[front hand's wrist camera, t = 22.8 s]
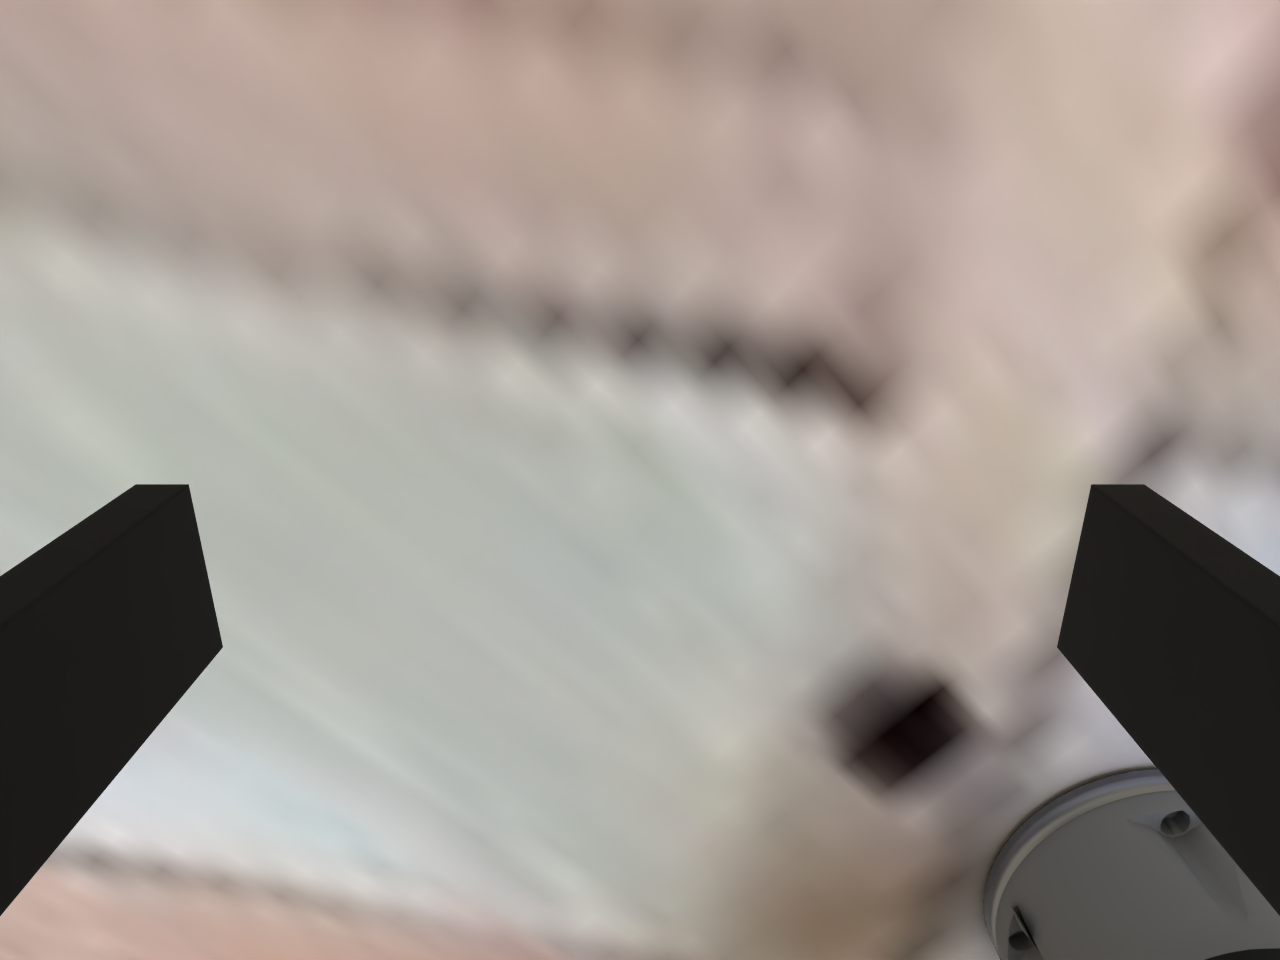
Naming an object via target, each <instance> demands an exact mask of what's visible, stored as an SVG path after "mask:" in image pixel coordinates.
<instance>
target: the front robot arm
mask: <svg viewBox="0 0 1280 960" xmlns="http://www.w3.org/2000/svg"><path fill="white" fill-rule="evenodd" d="M222 648H223V646H222V641H221V636H220V631H219V627H218V622H217V617H216V612H215V608H214V603H213V598H212V593H211V589H210V584H209V579H208V574H207V570H206V565H205V560H204V555H203V551H202V546H201V541H200V536H199V532H198V527H197V522H196V517H195V513H194V508H193V503H192V498H191V494H190V489H189V485H134V486H133V487H132V488H130V489H129V490H127V491H126V492H124V493H123V494H121V495H120V496H118V497H117V498H115V499H114V500H112V501H111V502H109V503H108V504H106V505H105V506H103V507H102V508H101V509H99V510H98V511H96V512H95V513H93V514H92V515H90V516H89V517H87V518H86V519H84V520H83V521H81V522H80V523H78V524H77V525H75V526H74V527H72V528H71V529H70V530H68V531H67V532H65V533H64V534H62V535H61V536H59V537H58V538H56V539H55V540H53V541H52V542H50V543H49V544H47V545H46V546H44V547H43V548H41V549H40V550H39V551H37V552H36V553H34V554H33V555H31V556H30V557H28V558H27V559H25V560H24V561H22V562H21V563H19V564H18V565H16V566H15V567H13V568H12V569H10V570H9V571H8V572H6V573H5V574H3V575H2V576H0V916H1V915H2V913H3V912H4V911H5V910H6V909H7V907H8V906H9V905H10V904H11V902H12V901H13V900H14V899H15V898H16V896H17V895H18V894H19V893H20V892H21V890H22V889H23V888H24V887H25V886H26V884H27V883H28V882H29V881H30V880H31V878H32V877H33V876H34V875H35V873H36V872H37V871H38V870H39V869H40V867H41V866H42V865H43V864H44V863H45V861H46V860H47V859H48V858H49V857H50V855H51V854H52V853H53V852H54V851H55V849H56V848H57V847H58V846H59V844H60V843H61V842H62V841H63V840H64V838H65V837H66V836H67V835H68V834H69V832H70V831H71V830H72V829H73V828H74V826H75V825H76V824H77V823H78V822H79V820H80V819H81V818H82V817H83V815H84V814H85V813H86V812H87V811H88V809H89V808H90V807H91V806H92V805H93V803H94V802H95V801H96V800H97V799H98V797H99V796H100V795H101V794H102V793H103V791H104V790H105V789H106V788H107V786H108V785H109V784H110V783H111V782H112V780H113V779H114V778H115V777H116V776H117V774H118V773H119V772H120V771H121V770H122V768H123V767H124V766H125V765H126V764H127V762H128V761H129V760H130V759H131V757H132V756H133V755H134V754H135V753H136V751H137V750H138V749H139V748H140V747H141V745H142V744H143V743H144V742H145V741H146V739H147V738H148V737H149V736H150V735H151V733H152V732H153V731H154V730H155V728H156V727H157V726H158V725H159V724H160V722H161V721H162V720H163V719H164V718H165V716H166V715H167V714H168V713H169V712H170V710H171V709H172V708H173V707H174V706H175V704H176V703H177V702H178V701H179V699H180V698H181V697H182V696H183V695H184V693H185V692H186V691H187V690H188V689H189V687H190V686H191V685H192V684H193V683H194V681H195V680H196V679H197V678H198V677H199V675H200V674H201V673H202V672H203V670H204V669H205V668H206V667H207V666H208V664H209V663H210V662H211V661H212V660H213V658H214V657H215V656H216V655H217V654H218V652H219V651H220V650H221V649H222ZM1057 648H1058V649H1059V650H1060V651H1061V652H1062V654H1063V655H1064V656H1065V657H1066V658H1067V660H1068V661H1069V662H1070V663H1071V664H1072V666H1073V667H1074V668H1075V669H1076V670H1077V672H1078V673H1079V674H1080V675H1081V677H1082V678H1083V679H1084V680H1085V681H1086V683H1087V684H1088V685H1089V686H1090V687H1091V689H1092V690H1093V691H1094V692H1095V693H1096V695H1097V696H1098V697H1099V698H1100V699H1101V701H1102V702H1103V703H1104V704H1105V706H1106V707H1107V708H1108V709H1109V710H1110V712H1111V713H1112V714H1113V715H1114V716H1115V718H1116V719H1117V720H1118V721H1119V722H1120V724H1121V725H1122V726H1123V727H1124V728H1125V730H1126V731H1127V732H1128V733H1129V735H1130V736H1131V737H1132V738H1133V739H1134V741H1135V742H1136V743H1137V744H1138V745H1139V747H1140V748H1141V749H1142V750H1143V751H1144V753H1145V754H1146V755H1147V756H1148V757H1149V759H1150V760H1151V761H1152V762H1153V764H1154V765H1155V766H1156V767H1157V768H1158V769H1148V770H1140V771H1132V772H1127V773H1121V774H1116V775H1113V776H1109V777H1105V778H1102V779H1099V780H1096V781H1093V782H1090V783H1088V784H1085V785H1083V786H1080V787H1078V788H1076V789H1074V790H1071V791H1070V792H1068V793H1066V794H1064V795H1062V796H1060V797H1058V798H1057V799H1055V800H1053V801H1052V802H1050V803H1049V804H1047V805H1046V806H1044V807H1043V808H1041V809H1040V810H1039V811H1037V812H1036V813H1035V814H1034V815H1032V816H1031V817H1030V818H1029V819H1028V820H1027V821H1026V822H1024V823H1023V824H1022V825H1021V826H1020V827H1019V828H1018V829H1017V830H1016V832H1015V833H1014V834H1013V835H1012V836H1011V837H1010V839H1009V840H1008V841H1007V842H1006V844H1005V845H1004V846H1003V848H1002V850H1001V851H1000V853H999V854H998V856H997V858H996V860H995V862H994V864H993V866H992V868H991V870H990V873H989V876H988V879H987V883H986V887H985V893H984V916H985V923H986V926H987V929H988V933H989V935H990V937H991V939H992V942H993V944H994V946H995V948H996V951H997V953H998V955H999V957H1000V960H1280V576H1278V575H1277V574H1275V573H1274V572H1272V571H1271V570H1270V569H1268V568H1267V567H1265V566H1264V565H1262V564H1261V563H1259V562H1258V561H1256V560H1255V559H1253V558H1252V557H1250V556H1249V555H1247V554H1246V553H1244V552H1243V551H1241V550H1240V549H1239V548H1237V547H1236V546H1234V545H1233V544H1231V543H1230V542H1228V541H1227V540H1225V539H1224V538H1222V537H1221V536H1219V535H1218V534H1216V533H1215V532H1213V531H1212V530H1210V529H1209V528H1208V527H1206V526H1205V525H1203V524H1202V523H1200V522H1199V521H1197V520H1196V519H1194V518H1193V517H1191V516H1190V515H1188V514H1187V513H1185V512H1184V511H1182V510H1181V509H1179V508H1178V507H1177V506H1175V505H1174V504H1172V503H1171V502H1169V501H1168V500H1166V499H1165V498H1163V497H1162V496H1160V495H1159V494H1157V493H1156V492H1154V491H1153V490H1151V489H1150V488H1148V487H1147V486H1146V485H1091V489H1090V494H1089V498H1088V503H1087V508H1086V513H1085V517H1084V522H1083V527H1082V532H1081V536H1080V541H1079V546H1078V551H1077V555H1076V560H1075V565H1074V570H1073V574H1072V579H1071V584H1070V589H1069V593H1068V598H1067V603H1066V608H1065V612H1064V617H1063V622H1062V627H1061V631H1060V636H1059V641H1058V646H1057Z"/></svg>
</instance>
